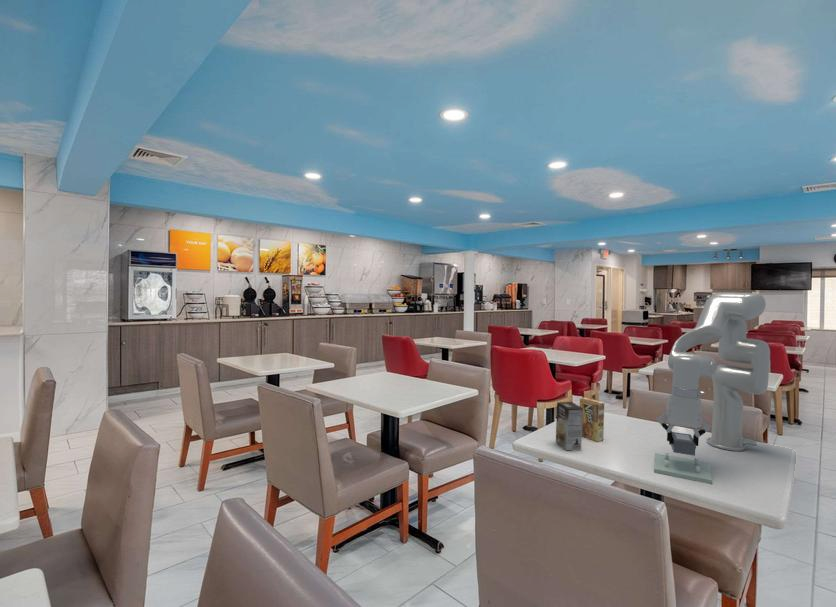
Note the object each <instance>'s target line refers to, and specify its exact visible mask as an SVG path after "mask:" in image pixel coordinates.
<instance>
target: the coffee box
mask: <svg viewBox="0 0 836 607" xmlns="http://www.w3.org/2000/svg"><path fill="white" fill-rule="evenodd" d="M556 404H557V405H556V424H555V425H556V427H555V429H556V430H555V443H556V444H558V446H560V447H561V448H562V447H563V448H564V450H565V451H566V450H576V451H582V442H583V441H582V439H583V438H582V437H583V436H582V419H583V408H581V407H580V405H578V404H576V403H574V402H572V401H560V402H558V401H557V402H556Z"/></svg>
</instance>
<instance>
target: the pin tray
mask: <svg viewBox="0 0 836 607" xmlns="http://www.w3.org/2000/svg"><path fill="white" fill-rule="evenodd" d="M653 473H656V474H660V475H666V476H670V477H676V478H679V479H685V480H690V481H694V482H695V481H696V482H699V483H706V484H710V485H712V484H713V479H712V478H713V477H712V475H711V473H712V472H711V470H710V466H709V462H705V461H701V460H699V458H697V457H696V458H694V459H690V458H686V457H684V458H683V457H680V456H675V455H674V456H673V455H669V453H667V452H664V454H663V453H662V454H661V453H658V452H655V453H654V466H653Z"/></svg>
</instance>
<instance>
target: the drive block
mask: <svg viewBox="0 0 836 607" xmlns="http://www.w3.org/2000/svg"><path fill="white" fill-rule="evenodd" d="M695 445H696V444H695V442H694V440H693V435H692V434H690V433H684V432H683V433H682V432H675V431H672V444H671V445H670V446H671V450H672V453H676V454H682V455H687V456H694V457H695V456H696V449H695Z"/></svg>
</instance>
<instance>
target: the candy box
mask: <svg viewBox="0 0 836 607" xmlns="http://www.w3.org/2000/svg"><path fill="white" fill-rule="evenodd" d="M579 406H580V407H581V408H583V419H582V437H583V438H586V439H589V440H592V441H595V442H601V441H603V440H604V435H605V434H604V430H605V429H604V427H605V425H604V424H605V402H604V401H600V400H597V399H593V398H589V397H582V398H579Z"/></svg>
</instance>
